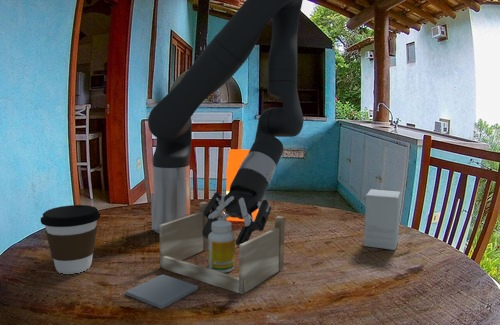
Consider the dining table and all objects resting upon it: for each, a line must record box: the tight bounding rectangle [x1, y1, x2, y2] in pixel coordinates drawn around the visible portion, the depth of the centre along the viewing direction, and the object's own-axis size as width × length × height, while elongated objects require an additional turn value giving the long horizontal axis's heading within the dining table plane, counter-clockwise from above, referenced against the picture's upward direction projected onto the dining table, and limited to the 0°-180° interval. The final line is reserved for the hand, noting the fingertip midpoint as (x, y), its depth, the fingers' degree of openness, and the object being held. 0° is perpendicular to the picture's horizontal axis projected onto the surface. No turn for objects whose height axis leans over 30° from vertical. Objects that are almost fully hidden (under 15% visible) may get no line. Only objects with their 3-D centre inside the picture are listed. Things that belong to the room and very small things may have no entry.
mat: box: [124, 273, 199, 310], centre depth 76 cm, size 9×9×1 cm
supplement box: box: [363, 188, 402, 251], centre depth 102 cm, size 7×7×13 cm
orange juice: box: [225, 148, 258, 222], centre depth 123 cm, size 8×9×20 cm
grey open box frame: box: [159, 201, 286, 295], centre depth 86 cm, size 21×14×11 cm, turn 56°
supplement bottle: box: [207, 219, 236, 274], centre depth 86 cm, size 5×5×10 cm
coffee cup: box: [40, 204, 101, 275], centre depth 85 cm, size 11×11×12 cm
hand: (221, 241), depth 86 cm, fingers open, 8 cm apart
